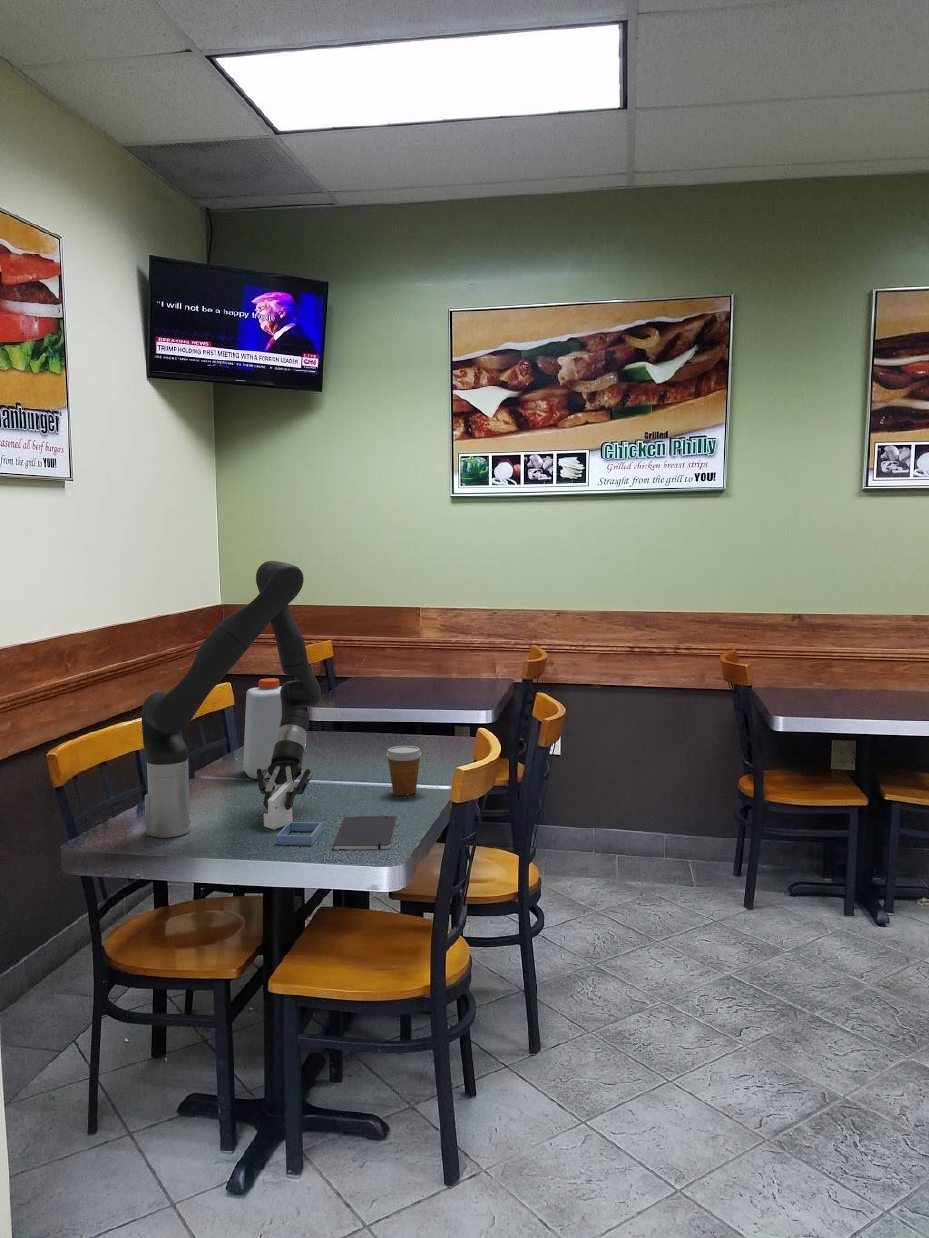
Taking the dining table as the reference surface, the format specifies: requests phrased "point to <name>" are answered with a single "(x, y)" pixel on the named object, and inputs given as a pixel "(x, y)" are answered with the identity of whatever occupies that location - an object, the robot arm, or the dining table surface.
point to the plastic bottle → (261, 725)
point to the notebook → (365, 832)
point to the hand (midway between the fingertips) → (277, 808)
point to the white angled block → (278, 809)
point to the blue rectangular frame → (286, 839)
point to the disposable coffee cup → (404, 768)
